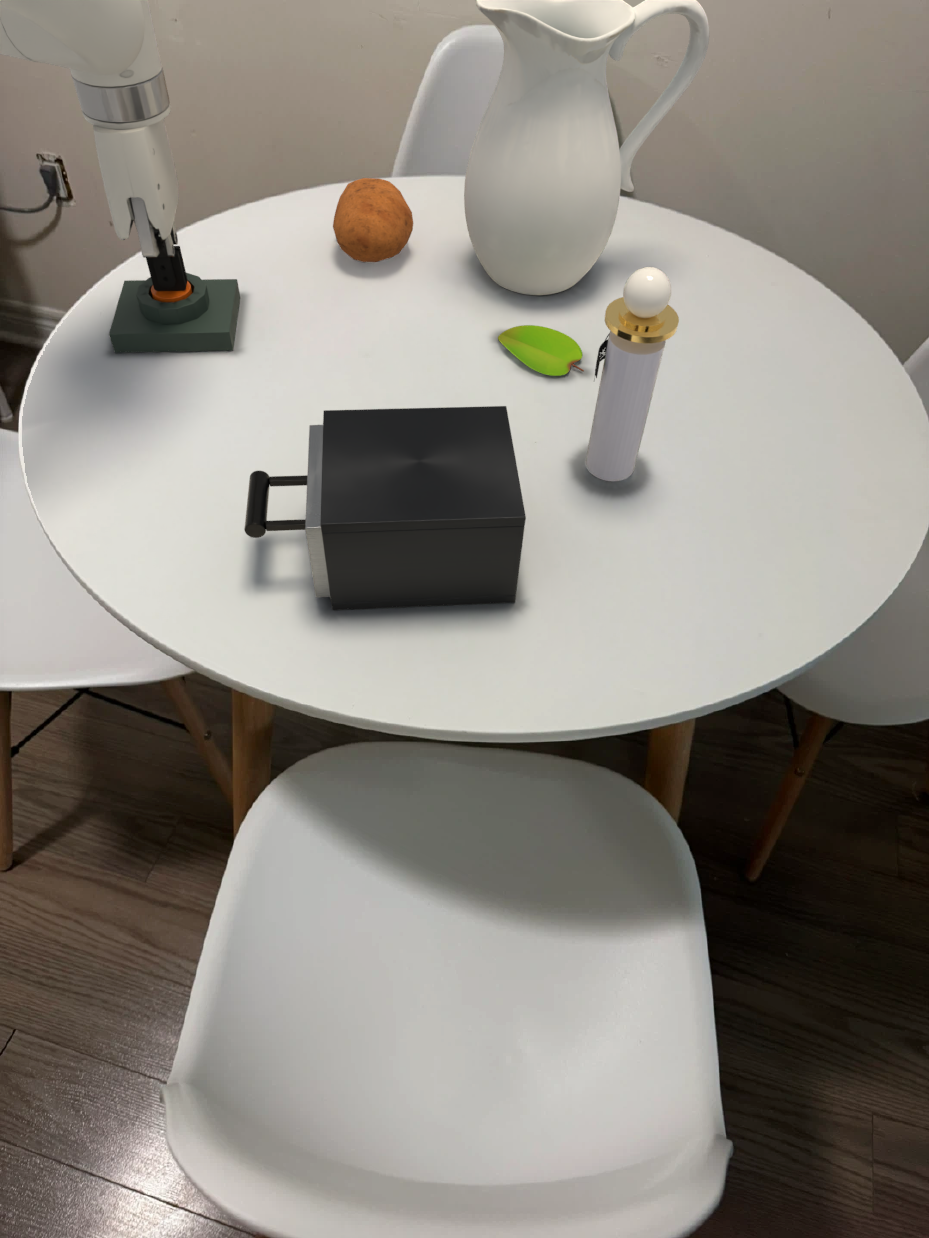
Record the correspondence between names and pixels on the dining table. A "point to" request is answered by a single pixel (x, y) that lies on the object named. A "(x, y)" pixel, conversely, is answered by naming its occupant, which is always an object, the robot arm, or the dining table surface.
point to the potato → (372, 220)
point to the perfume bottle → (629, 372)
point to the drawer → (312, 524)
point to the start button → (171, 294)
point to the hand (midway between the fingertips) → (171, 286)
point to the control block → (176, 318)
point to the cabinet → (420, 507)
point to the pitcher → (560, 136)
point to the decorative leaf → (542, 349)
